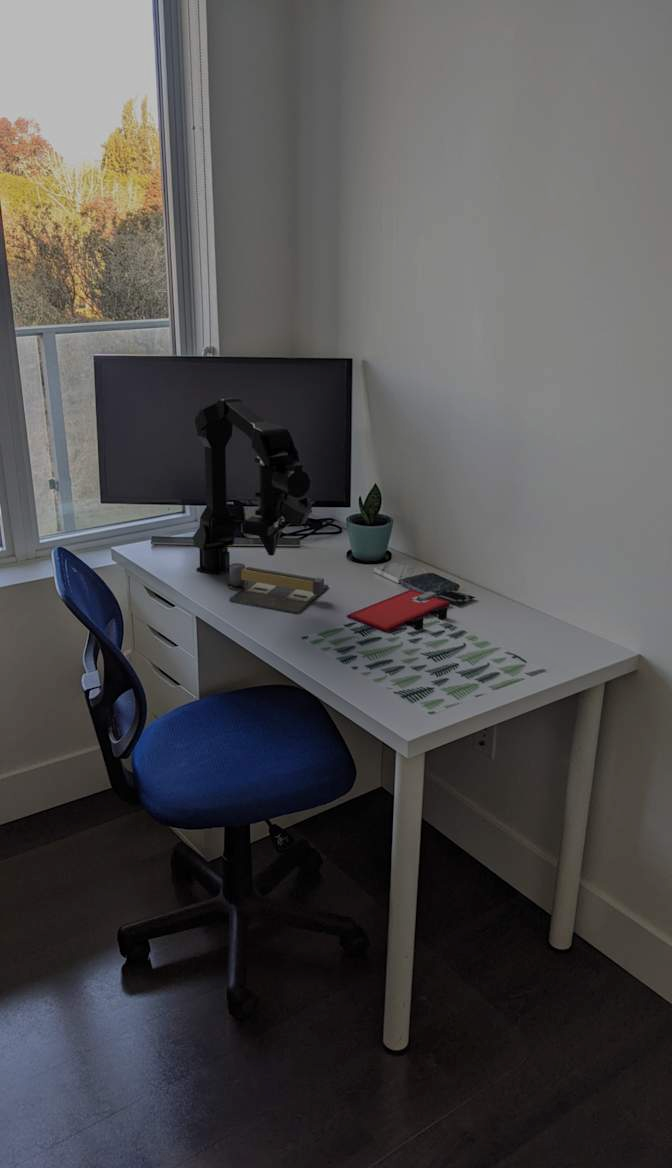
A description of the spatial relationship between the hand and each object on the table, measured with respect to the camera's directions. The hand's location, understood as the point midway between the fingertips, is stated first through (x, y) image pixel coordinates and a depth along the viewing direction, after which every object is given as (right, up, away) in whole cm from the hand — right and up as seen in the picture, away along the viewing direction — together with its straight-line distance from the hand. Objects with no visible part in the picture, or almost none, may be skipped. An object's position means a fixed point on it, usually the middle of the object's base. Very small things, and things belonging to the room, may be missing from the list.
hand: (271, 555), depth 202 cm
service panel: (-1, -8, +11) cm, 14 cm away
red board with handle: (+32, -13, +4) cm, 35 cm away
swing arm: (0, -8, +10) cm, 13 cm away
